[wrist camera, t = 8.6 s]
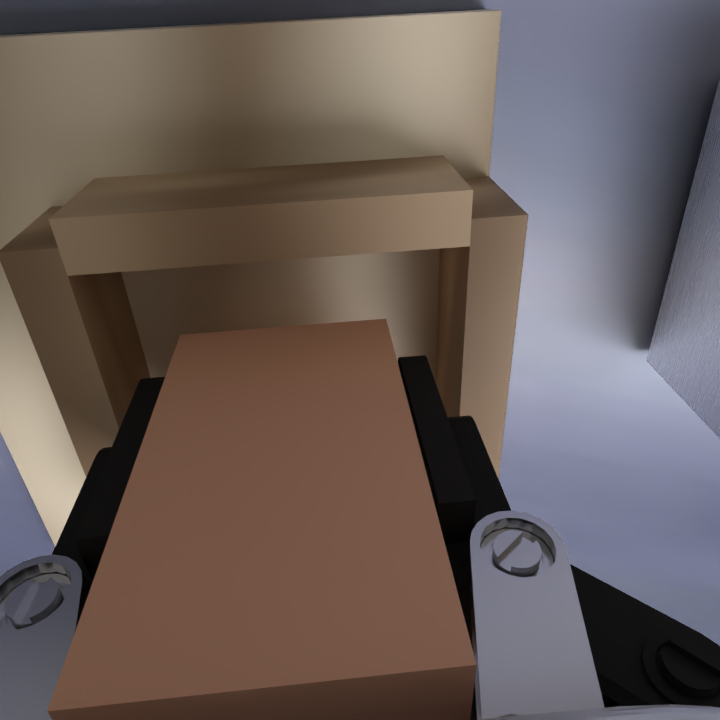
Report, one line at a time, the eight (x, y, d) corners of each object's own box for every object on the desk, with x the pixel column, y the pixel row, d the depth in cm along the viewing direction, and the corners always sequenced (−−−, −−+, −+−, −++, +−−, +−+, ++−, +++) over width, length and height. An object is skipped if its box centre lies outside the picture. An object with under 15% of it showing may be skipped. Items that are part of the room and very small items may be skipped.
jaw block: (385, 318, 11) (476, 664, 6) (389, 469, 14) (457, 836, 8) (180, 334, 11) (47, 711, 5) (216, 485, 13) (149, 874, 7)
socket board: (486, 9, 12) (550, 14, 9) (455, 511, 19) (483, 606, 16) (-146, 42, 11) (-312, 61, 8) (79, 547, 18) (36, 653, 15)
